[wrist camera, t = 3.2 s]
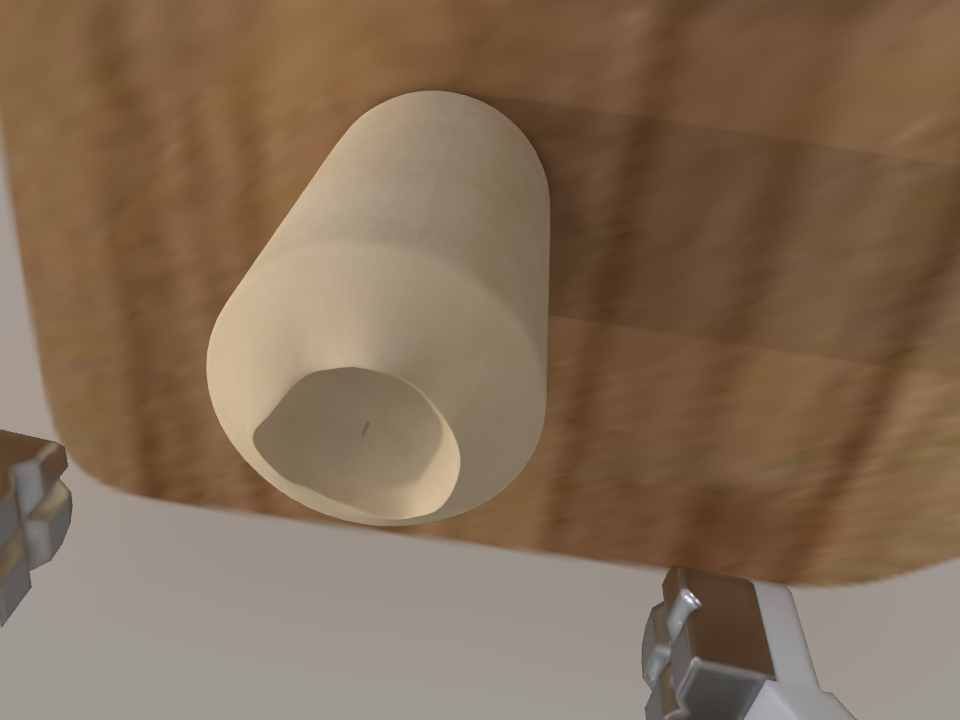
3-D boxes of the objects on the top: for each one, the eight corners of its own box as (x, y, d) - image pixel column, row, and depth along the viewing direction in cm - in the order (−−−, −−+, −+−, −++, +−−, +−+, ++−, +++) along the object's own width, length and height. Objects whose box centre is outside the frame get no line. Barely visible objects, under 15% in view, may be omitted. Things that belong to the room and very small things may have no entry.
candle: (312, 265, 22) (158, 540, 14) (350, 56, 19) (185, 241, 11) (513, 322, 22) (486, 622, 14) (582, 126, 19) (599, 357, 11)
